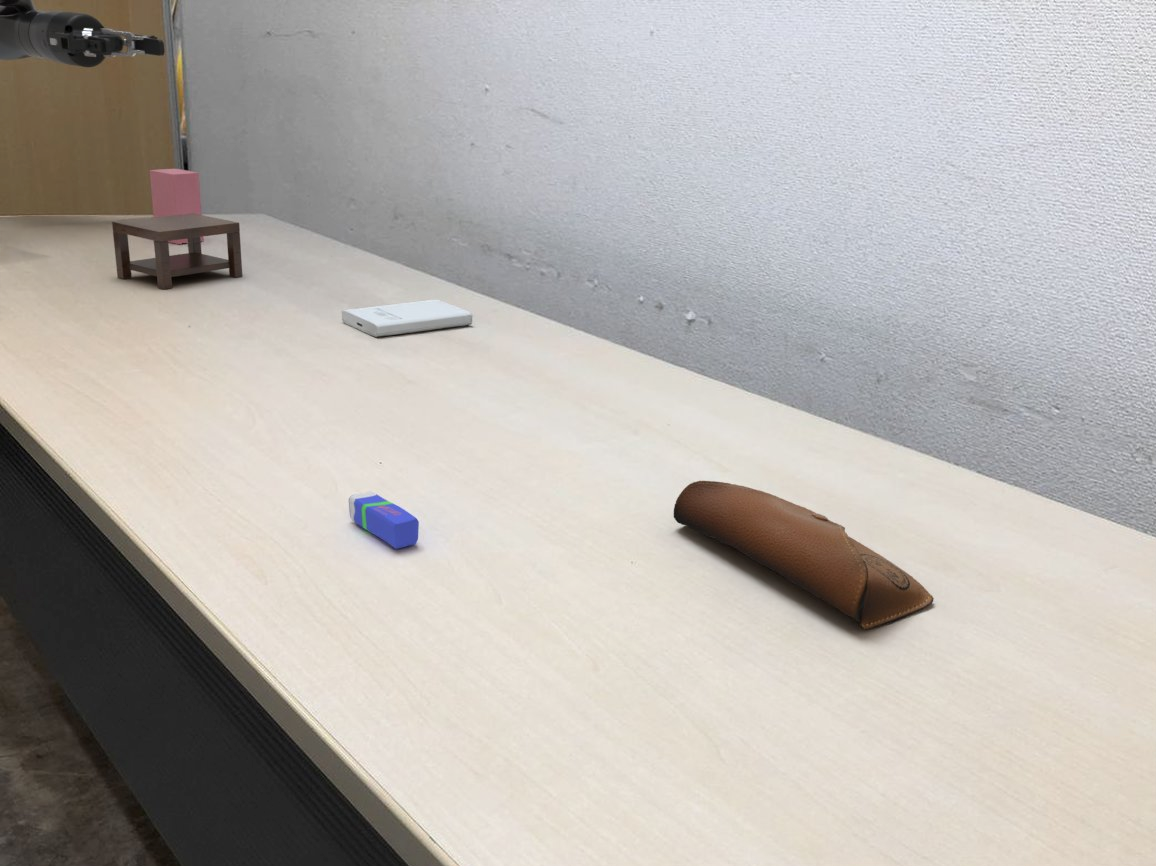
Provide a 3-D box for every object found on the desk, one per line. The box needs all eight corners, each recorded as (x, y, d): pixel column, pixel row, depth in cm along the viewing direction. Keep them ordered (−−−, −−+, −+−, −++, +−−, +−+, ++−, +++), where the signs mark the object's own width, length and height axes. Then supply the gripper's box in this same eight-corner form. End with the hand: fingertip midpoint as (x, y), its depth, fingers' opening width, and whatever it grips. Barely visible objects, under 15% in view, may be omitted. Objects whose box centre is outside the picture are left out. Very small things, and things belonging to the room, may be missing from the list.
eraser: (374, 515, 79) (373, 488, 79) (419, 545, 75) (419, 517, 75) (348, 521, 78) (347, 494, 77) (393, 552, 74) (393, 524, 73)
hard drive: (472, 326, 131) (377, 338, 123) (435, 311, 137) (341, 321, 129) (472, 312, 130) (377, 323, 123) (435, 298, 136) (341, 307, 128)
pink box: (178, 244, 164) (173, 174, 160) (155, 239, 166) (149, 170, 162) (203, 241, 167) (198, 172, 163) (180, 236, 170) (175, 168, 166)
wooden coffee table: (164, 289, 137) (159, 232, 135) (117, 277, 142) (111, 221, 139) (242, 276, 147) (239, 222, 145) (196, 265, 151) (192, 213, 149)
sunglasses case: (945, 595, 72) (926, 525, 68) (875, 669, 70) (850, 600, 66) (755, 500, 85) (729, 436, 81) (690, 560, 83) (660, 497, 79)
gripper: (19, 9, 162) (87, 17, 154) (109, 13, 173) (176, 21, 166) (26, 64, 165) (93, 75, 157) (114, 64, 176) (180, 74, 169)
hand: (136, 47), depth 162 cm, fingers open, 8 cm apart
